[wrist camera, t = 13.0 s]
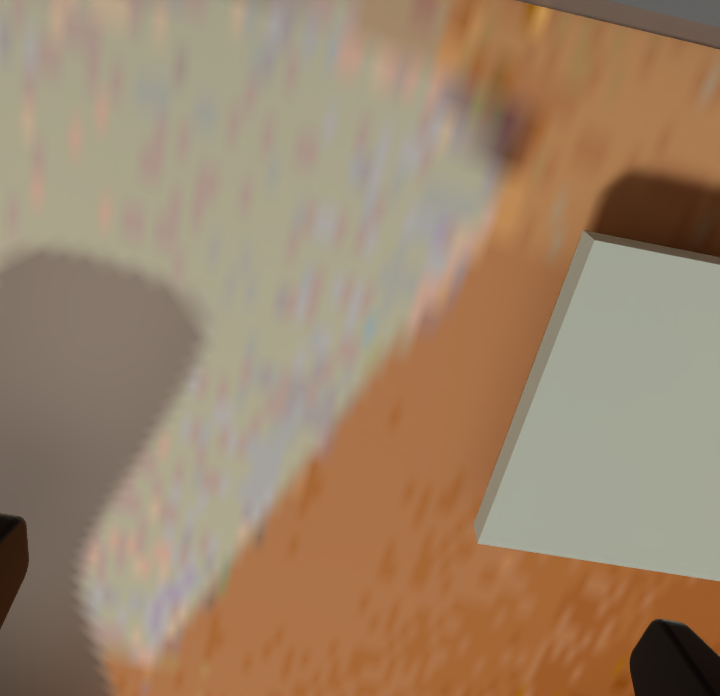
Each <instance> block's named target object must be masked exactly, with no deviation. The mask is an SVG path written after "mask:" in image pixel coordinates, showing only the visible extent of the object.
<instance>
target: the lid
mask: <svg viewBox="0 0 720 696" xmlns="http://www.w3.org/2000/svg"><path fill="white" fill-rule="evenodd" d="M474 529H475V533H476V538H477V543H478V544H484V545H491V546H497V547H504V548H510V549H516V550H523V551H529V552H536V553H542V554H548V555H555V556H561V557H568V558H574V559H581V560H587V561H593V562H600V563H606V564H613V565H619V566H625V567H632V568H638V569H645V570H651V571H658V572H664V573H670V574H677V575H683V576H690V577H696V578H702V579H709V580H715V581H720V257H716V256H711V255H706V254H701V253H696V252H691V251H686V250H681V249H676V248H671V247H666V246H661V245H656V244H651V243H646V242H641V241H636V240H631V239H626V238H621V237H616V236H611V235H606V234H601V233H595V232H590V231H585V230H583V233H582V236H581V238H580V241H579V244H578V246H577V249H576V252H575V254H574V257H573V260H572V262H571V265H570V268H569V270H568V273H567V276H566V278H565V281H564V284H563V286H562V289H561V292H560V294H559V297H558V300H557V302H556V305H555V308H554V310H553V313H552V316H551V318H550V321H549V324H548V327H547V329H546V332H545V335H544V337H543V340H542V343H541V345H540V348H539V351H538V353H537V356H536V359H535V361H534V364H533V367H532V369H531V372H530V375H529V377H528V380H527V383H526V385H525V388H524V391H523V393H522V396H521V399H520V401H519V404H518V407H517V409H516V412H515V415H514V417H513V420H512V423H511V426H510V428H509V431H508V434H507V436H506V439H505V442H504V444H503V447H502V450H501V452H500V455H499V458H498V460H497V463H496V466H495V468H494V471H493V474H492V476H491V479H490V482H489V484H488V487H487V490H486V492H485V495H484V498H483V500H482V503H481V506H480V508H479V511H478V514H477V516H476V519H475V522H474Z"/></svg>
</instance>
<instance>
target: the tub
mask: <svg viewBox="0 0 720 696" xmlns="http://www.w3.org/2000/svg"><path fill="white" fill-rule="evenodd" d="M517 1H521V2H525V3H529V4H533V5H538V6H542V7H546V8H550V9H554V10H558V11H563V12H567V13H571V14H575V15H579V16H583V17H588V18H592V19H596V20H600V21H604V22H608V23H613V24H617V25H621V26H625V27H629V28H633V29H638V30H642V31H646V32H650V33H654V34H658V35H663V36H667V37H671V38H675V39H679V40H683V41H688V42H692V43H696V44H700V45H704V46H708V47H713V48H717V49H720V0H517Z"/></svg>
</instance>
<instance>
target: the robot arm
mask: <svg viewBox="0 0 720 696" xmlns="http://www.w3.org/2000/svg"><path fill="white" fill-rule="evenodd" d="M28 563H29V552H28V539H27V525H26V521H25V520H24V519H23V518H22V517H20V516H15V515H8V514H2V513H0V629H1V626H2V625H3V622H4V620H5V618H6V616H7V614H8V612H9V610H10V607H11V605H12V603H13V601H14V599H15V597H16V595H17V593H18V590H19V588H20V586H21V584H22V582H23V580H24V577H25V575H26V572H27V568H28ZM630 673H631V677H632V682H633V687H634V692H635V696H720V656H719V655H718V654H716V653H715V652H714V651H713V650H712V649H711V648H710V647H709V646H708V645H707V644H706V643H705V642H704V641H703V640H702V639H701V638H700V637H699V636H698V635H697V634H696V633H695V632H694V631H693V630H691V629H690V628H689V627H688V626H687V625H685V624H683V623H681V622H677V621H671V620H664V619H656V620H654V621H652V622H651V623H650V624H649V626H648V628H647V629H646V631H645V632H644V634H643V635H642V637H641V638H640V640H639V642H638V643H637V645H636V646H635V648H634V649H633V651H632V653H631V657H630Z"/></svg>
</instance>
